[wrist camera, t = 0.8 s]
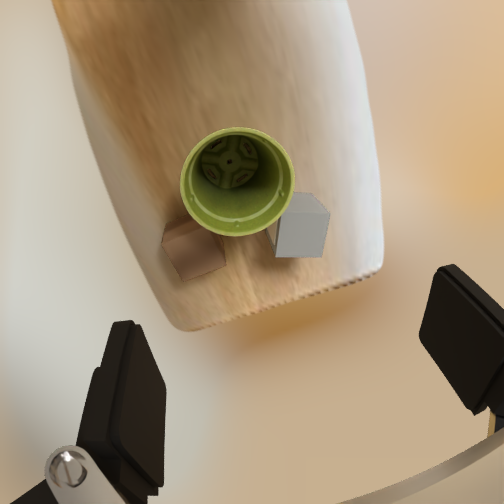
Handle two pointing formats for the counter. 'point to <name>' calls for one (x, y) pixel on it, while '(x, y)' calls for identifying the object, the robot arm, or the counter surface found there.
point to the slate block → (300, 228)
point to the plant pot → (229, 189)
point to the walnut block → (192, 248)
